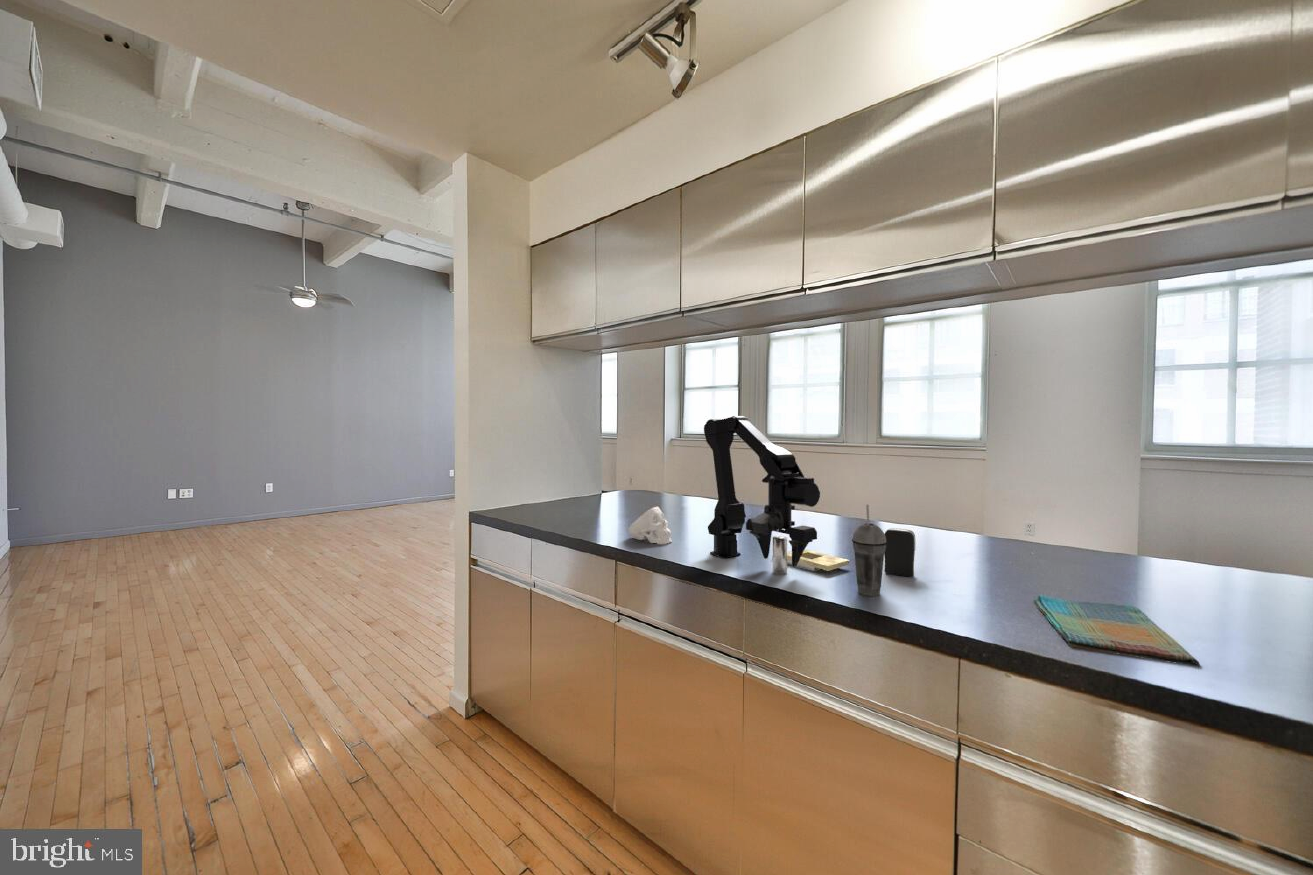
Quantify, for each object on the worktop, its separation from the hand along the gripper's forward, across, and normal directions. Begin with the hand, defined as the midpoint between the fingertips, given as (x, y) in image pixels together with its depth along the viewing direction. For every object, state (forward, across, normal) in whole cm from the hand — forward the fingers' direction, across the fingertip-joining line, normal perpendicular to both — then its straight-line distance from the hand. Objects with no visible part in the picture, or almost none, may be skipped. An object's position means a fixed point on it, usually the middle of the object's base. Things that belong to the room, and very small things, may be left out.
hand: (779, 562), depth 128 cm
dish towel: (+4, +59, +20) cm, 62 cm away
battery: (+3, +19, +23) cm, 30 cm away
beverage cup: (+3, +22, +4) cm, 23 cm away
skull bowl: (+3, -49, -6) cm, 49 cm away
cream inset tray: (+3, 0, +12) cm, 12 cm away
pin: (+3, 0, 0) cm, 3 cm away
